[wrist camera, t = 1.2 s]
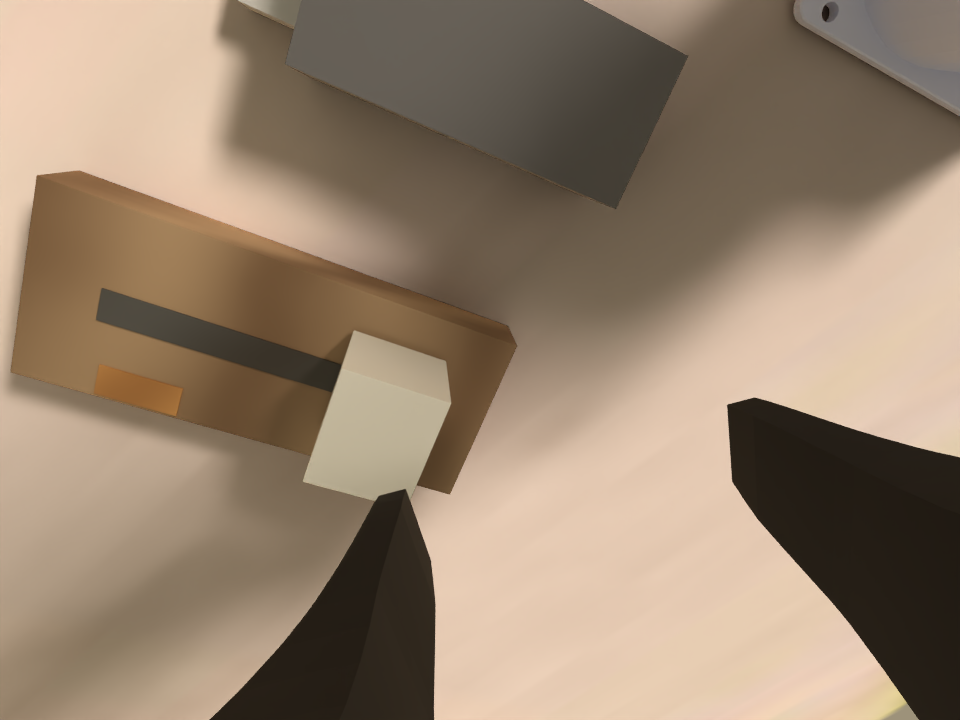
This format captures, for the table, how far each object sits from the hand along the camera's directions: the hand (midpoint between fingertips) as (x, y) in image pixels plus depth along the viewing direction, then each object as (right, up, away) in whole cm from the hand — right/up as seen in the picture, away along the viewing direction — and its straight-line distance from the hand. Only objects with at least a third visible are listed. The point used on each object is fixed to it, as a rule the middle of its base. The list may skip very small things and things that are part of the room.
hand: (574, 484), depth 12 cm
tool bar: (-2, +11, +5) cm, 12 cm away
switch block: (-9, +4, +7) cm, 12 cm away
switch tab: (-5, +2, +6) cm, 8 cm away
